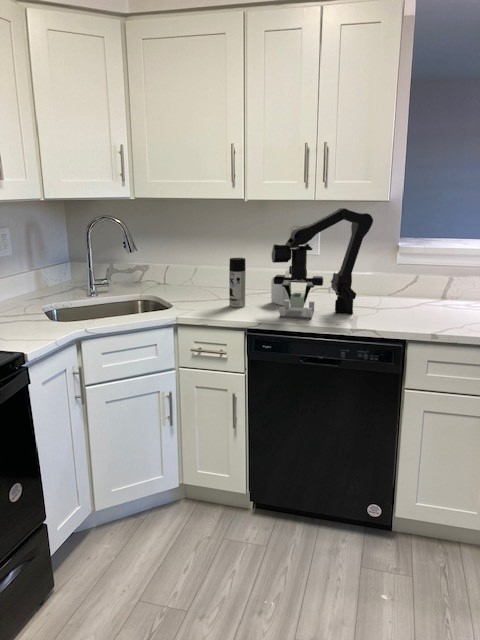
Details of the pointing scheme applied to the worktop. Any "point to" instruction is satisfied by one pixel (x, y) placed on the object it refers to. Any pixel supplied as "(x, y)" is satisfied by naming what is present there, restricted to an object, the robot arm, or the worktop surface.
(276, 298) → the photo printer
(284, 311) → the chassis
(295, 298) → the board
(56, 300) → the worktop surface
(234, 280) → the spray can
